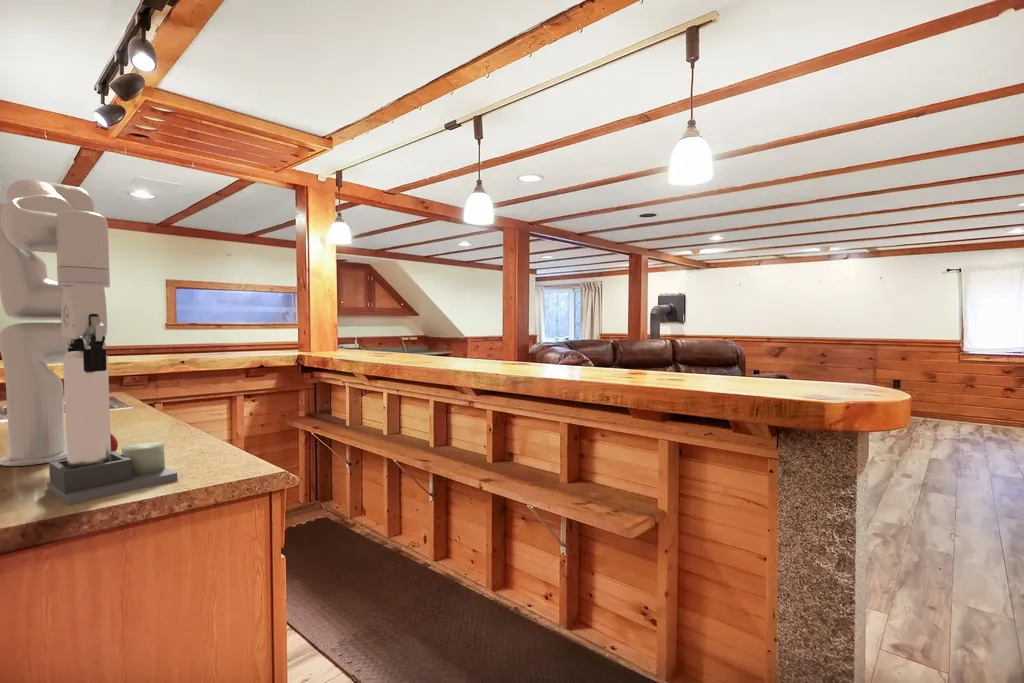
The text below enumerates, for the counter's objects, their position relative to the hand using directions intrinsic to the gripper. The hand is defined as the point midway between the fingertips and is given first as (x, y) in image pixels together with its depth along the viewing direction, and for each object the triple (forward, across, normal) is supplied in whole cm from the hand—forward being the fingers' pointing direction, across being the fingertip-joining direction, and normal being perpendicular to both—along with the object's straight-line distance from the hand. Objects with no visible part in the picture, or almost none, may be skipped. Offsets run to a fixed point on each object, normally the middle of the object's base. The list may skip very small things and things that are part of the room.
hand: (87, 369), depth 95 cm
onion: (+23, -21, +7) cm, 32 cm away
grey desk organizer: (+23, 0, +4) cm, 23 cm away
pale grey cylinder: (+22, 0, 0) cm, 22 cm away
